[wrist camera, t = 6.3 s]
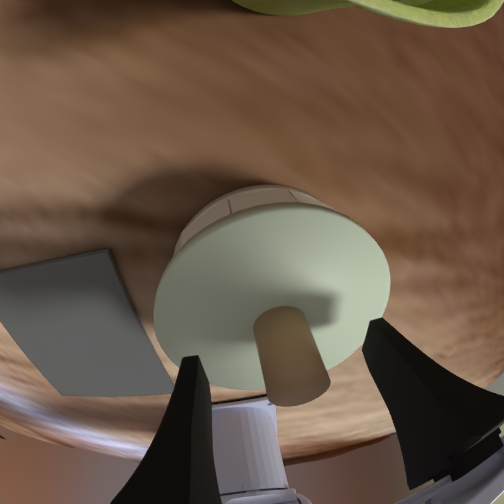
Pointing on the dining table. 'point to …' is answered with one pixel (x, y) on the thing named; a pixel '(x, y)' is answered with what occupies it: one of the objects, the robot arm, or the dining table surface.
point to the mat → (81, 327)
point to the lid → (272, 298)
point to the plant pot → (390, 9)
